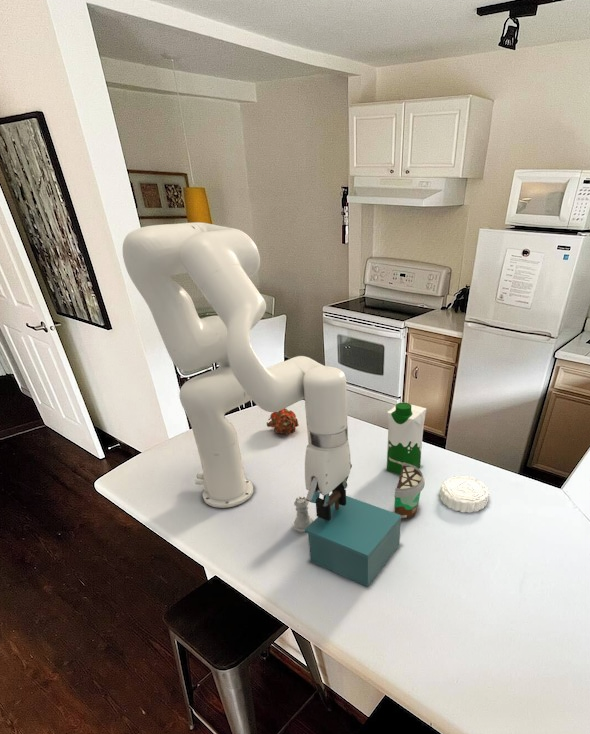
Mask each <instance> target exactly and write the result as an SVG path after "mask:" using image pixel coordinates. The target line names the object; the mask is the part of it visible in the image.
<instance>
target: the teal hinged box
mask: <svg viewBox="0 0 590 734" xmlns="http://www.w3.org/2000/svg"><path fill="white" fill-rule="evenodd" d="M401 524H402V520H401V519H400V520H399V521H398V522H397V524H396V525H395V526H394V527H393V528H392V530H391V531H390V532H389V533H388V535H387V536H386V537H385V538H384V539H383V541H382V542H381V543H380V544H379V546H378V547H377V548H376V549H375V550H374V552H373V553H372V554H371V555H370V557H369V558H366V557H363V556H361V555H358V554H356V553H353V552H351V551H349V550H346V549H344V548H341V547H339V546H336V545H334V544H332V543H329V542H327V541H324V540H322V539H320V538H317V537H315V536H312V535H310V534H307V539H308V548H309V559H310V563H313V564H315V565H318V566H320V567H322V568H324V569H326V570H329V571H331V572H333V573H336V574H337V575H340V576H342V577H344V578H347V579H348V580H351V581H353V582H356V583H358V584H360V585H362V586H365V587H367V588H368V587H369V586H370V585H371V583H372V582H373V581H374V580H375V578H376V577H377V575H378V574H380V572H381V571H382V569H383V568H384V567H385V565H386V564H387V562H388V561H389V560H390V558H391V557H392V556H393V554H395V552H396V551H397V549H398V548H399V547H400V540H401Z"/></svg>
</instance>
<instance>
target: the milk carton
mask: <svg viewBox="0 0 590 734" xmlns="http://www.w3.org/2000/svg"><path fill="white" fill-rule="evenodd" d="M426 414H427V407H422V406H419V405H414V404H410V403H409V402H403V401H401V402H398V403H396V405H394V406H393V407H391V409H389V410H388V411H387V412H386V415H387V423H388V424H387V448H386V449H387V452H386V471H387V472H390V473H393V474H396V475H399V476H400V474H401V470H402V463H407V464H411V465H413V466H415V467H417V468H418V469H420V467H421V460H422V448H423V438H424V437H423V435H424V424H425V419H426Z"/></svg>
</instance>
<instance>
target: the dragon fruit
mask: <svg viewBox="0 0 590 734" xmlns="http://www.w3.org/2000/svg"><path fill="white" fill-rule="evenodd" d="M270 413H271V414H270V416H269V418H268V420H267V421H268V422H266V427H268V428H274V429H273V430H274V433H276V434H282V435H286V436H287V435H291V434H294V433H295V432H296V428H298V427H299V426H300V425H299V420H298V418H297V416H296V414H295V412H294V411H293V410H288V409H287V408H285V409H283V410H280V411H278V412H270Z"/></svg>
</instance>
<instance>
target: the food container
mask: <svg viewBox="0 0 590 734" xmlns="http://www.w3.org/2000/svg"><path fill="white" fill-rule="evenodd" d="M425 484H426V483H425V477H424V475H423V472H422V471H421V470H420V468H417V467H415V466H413V465H411V464H407V463H402V470H401V474H400V475H399V477H398V482H397V484H396V485H397V486H396V488H395V490H394V513H396V514H399V515H401V521H407V520H411V519H412V518H414V517H415V516H416V515H417V513H418V508H419V503H420V497H421V492H422V491H423V490H424V488H425Z"/></svg>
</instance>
